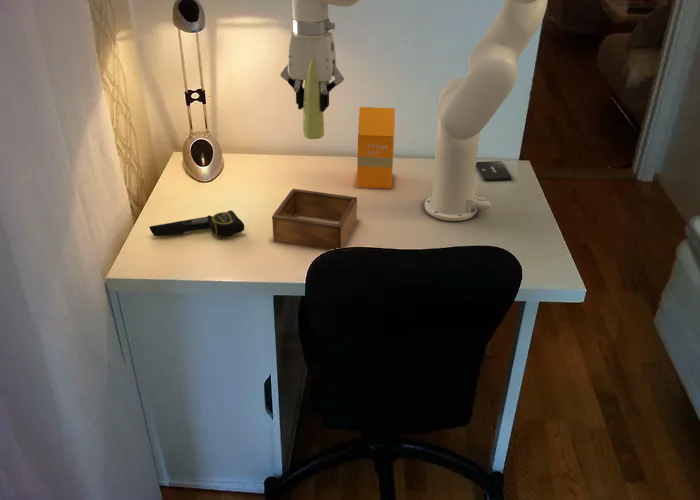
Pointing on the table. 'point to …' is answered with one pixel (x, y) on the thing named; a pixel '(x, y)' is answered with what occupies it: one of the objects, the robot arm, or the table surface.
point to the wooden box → (315, 231)
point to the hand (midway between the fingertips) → (312, 107)
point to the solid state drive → (493, 170)
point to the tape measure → (226, 224)
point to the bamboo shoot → (312, 105)
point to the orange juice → (375, 147)
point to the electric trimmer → (181, 226)
